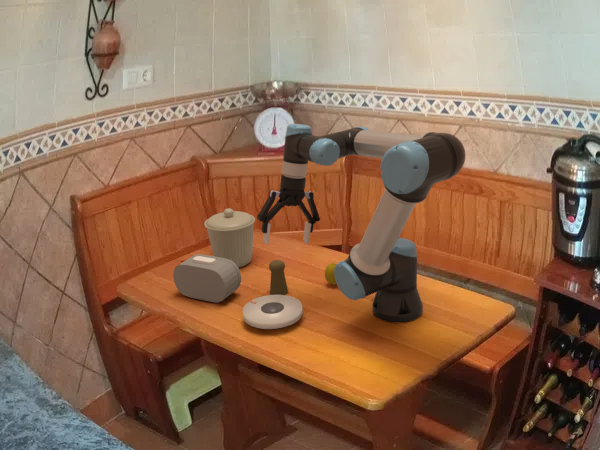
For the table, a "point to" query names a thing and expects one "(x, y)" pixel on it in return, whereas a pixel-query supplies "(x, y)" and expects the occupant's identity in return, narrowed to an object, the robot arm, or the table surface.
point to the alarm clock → (207, 277)
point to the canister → (231, 235)
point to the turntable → (272, 311)
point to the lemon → (330, 273)
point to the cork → (277, 278)
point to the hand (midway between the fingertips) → (286, 242)
